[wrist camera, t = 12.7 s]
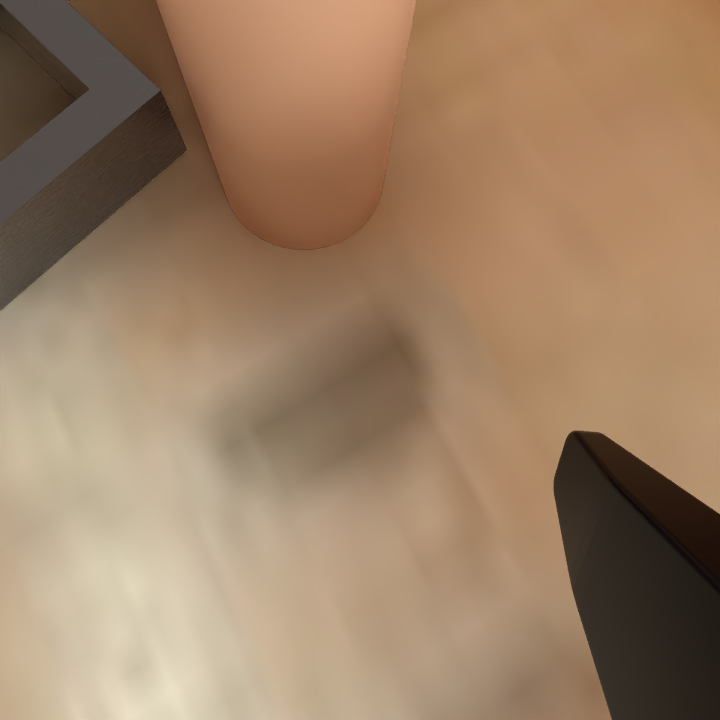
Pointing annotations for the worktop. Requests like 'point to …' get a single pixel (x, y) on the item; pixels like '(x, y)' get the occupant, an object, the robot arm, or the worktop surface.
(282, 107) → the cylindrical peg
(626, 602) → the robot arm
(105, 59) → the collar
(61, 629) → the worktop surface
